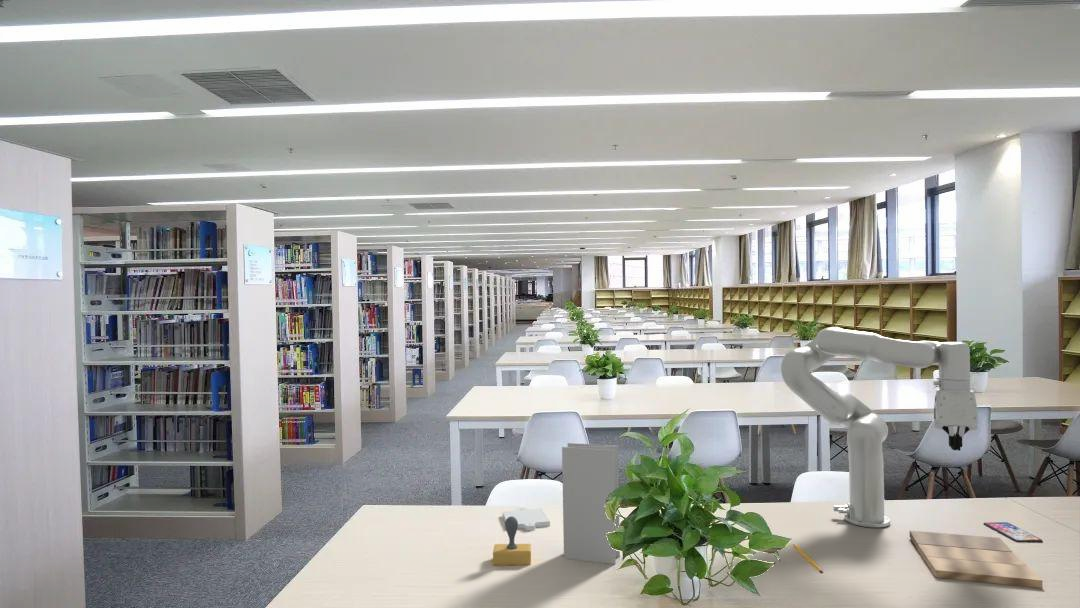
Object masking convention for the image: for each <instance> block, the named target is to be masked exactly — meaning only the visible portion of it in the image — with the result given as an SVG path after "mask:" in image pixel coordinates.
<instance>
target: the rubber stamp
mask: <svg viewBox="0 0 1080 608" xmlns="http://www.w3.org/2000/svg"><path fill="white" fill-rule="evenodd" d="M504 522H505V521H504ZM504 525H505V526H504V527H505V530H506V533H507V536H508V539H509V543H495V544H494V545H493V551H492V566H530V565H532V544H531V543H515V538H516V534H517V531H518V530H519V529H518V521H517V519H516V518H515V517H512V516H511V517H508V518H507V520H506V522H505V523H504Z"/></svg>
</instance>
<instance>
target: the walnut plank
mask: <svg viewBox="0 0 1080 608" xmlns="http://www.w3.org/2000/svg"><path fill="white" fill-rule="evenodd" d="M909 538H910V540H911V541H912V544H913V545H914V547H915V548H916V550H917V551H918V544H923V545H935V546H946V547H958V548H969V549H981V550H992V551H1004V552H1013V551H1012V549H1011V548H1010V547H1009V546H1008V545H1007V544H1006V543H1005V542H1004V540H1002V538H1001V537H992V536H983V535H982V536H979V535H969V534H958V533H957V534H955V533H945V532H944V533H942V532H931V531H920V530H909Z"/></svg>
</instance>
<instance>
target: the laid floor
mask: <svg viewBox="0 0 1080 608" xmlns="http://www.w3.org/2000/svg"><path fill="white" fill-rule="evenodd" d="M917 551H918V553H919V555H920V556H921V558H922V559H923V560H924V562H925V563H926V565H927V567H928V568H929V569H930V572H931V573H932V574H933V576H934V577H935V578H937V579H938V578H939V579H946V580H947V579H948V580H949V579H950V580H958V581H966V582H967V581H968V582H979V583H989V584H999V585H1009V586H1018V587H1028V588H1038V589H1043V579H1042V578H1040V577H1039V576H1038V575H1037V573H1035V572H1034V570H1032V569H1031V568H1030V567H1029V566H1028V565H1027V564H1026V563H1025V562H1024V561H1023V560H1021V558H1020V557H1018V556H1017V555H1016V554H1015V553H1014V552H1013V551H1012V552H1004V551H992V550H981V549H969V548H958V547H946V546H935V545H923V544H918V550H917Z"/></svg>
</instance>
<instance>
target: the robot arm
mask: <svg viewBox="0 0 1080 608" xmlns="http://www.w3.org/2000/svg"><path fill="white" fill-rule="evenodd" d="M970 352H971V349H970V346H969V344H968V343H966V342H960V341H944V342H939V341H933V340H919V341H911V340H904V339H894V338H890V337H885V336H882V335H880V334H878V333H876V332H875V333H874V332H869V331H859V330H852V329H846V328H845V329H844V328H842V327H839V326H830V327H825V328H822V329H820V330H819V332H818V333H817V335H816V337H815V338H814V339H812V340H811V341H809V342H808V343H806V344H805V345H803V346H801V347H797V348H793V349H791V350H789V351H788V352H786V353H785V355H784V356H783V359H782V361H781V366H780V372H781V378H782V381H784V383H785V385H786V386H787V387H788V389H790V391H791V392H793V394H795V395H796V396H797V397H798V398H799V399H801V400H802V401H804V403H805V404H807V406H809V408H811V409H812V410H814V411H815V412H816V413H817V414H819V415H820V416H821V418H823V419H824V420H825V421H827V422H828V423H829V424H832V425H836V426H837V425H844V426H845V427H846V428H847V432H846V443H847V452H848V471H849V476H848V477H849V479H848V480H849V483H848V484H849V502H847V504H844V505H838V504H837V505H836V504H833V512H838V514H844V515H843V516H844V519H845V521H847V522H848V523H850V524H853V525H856V526H860V527H865V528H878V529H879V528H885V527H888V526H890V525H891V519H890V518H889V517H888V516H887V515H885V482H884V481H885V476H884V456H883V455H884V454H883V443H884V441H885V440H886V439H887V437H888V435H889V426H888V425H887V422H886V421H885V420H884V418H882V417H881V416H880V415H879V414H878V413H876V412H875V411H874V410H873V409H871V408H870V407H869V406H867V404H865V403H864V402H862V401H861V400H859V398H857V397H856V396H854V395H852V394H851V393H849V392H846V391H834V390H833V389H832V388H831V387H830V386H828V385H827V384H826V383H825V382H823V381H822V380H820V379H819V378H817V377H816V376H814V375H813V374H812V373H811V372H813V371H815V370H817V369H818V368H820V367H821V366H824V365H825V364H826V363H828V362H829V361H831V360H833V359H834V358H836V357H837V356H839V357H846V358H853V359H859V360H866V361H871V362H876V363H883V364H887V365H894V366H899V367H906V368H913V369H925V368H928V367H930V366H938V379H937V380H933V382H932V383H933V384H932V385H933V386H936V387H938V388H937V389H936V391H935V396H934V404H933V420H934V421H933V427H934V428H935V429H939V430H943V431H944V432H945V433H946V434H947V435H948V446H949V447H950V449H951V450H953V451H961V448H962V447H963V437H964V436H965V434H967V433H968V432H970V431H975V430H978V424H979V417H978V416H979V414H978V406H977V399H976V395H975V391H974V390H972V389H971V355H970V354H971V353H970ZM954 427H956V432H955V430H954Z"/></svg>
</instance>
